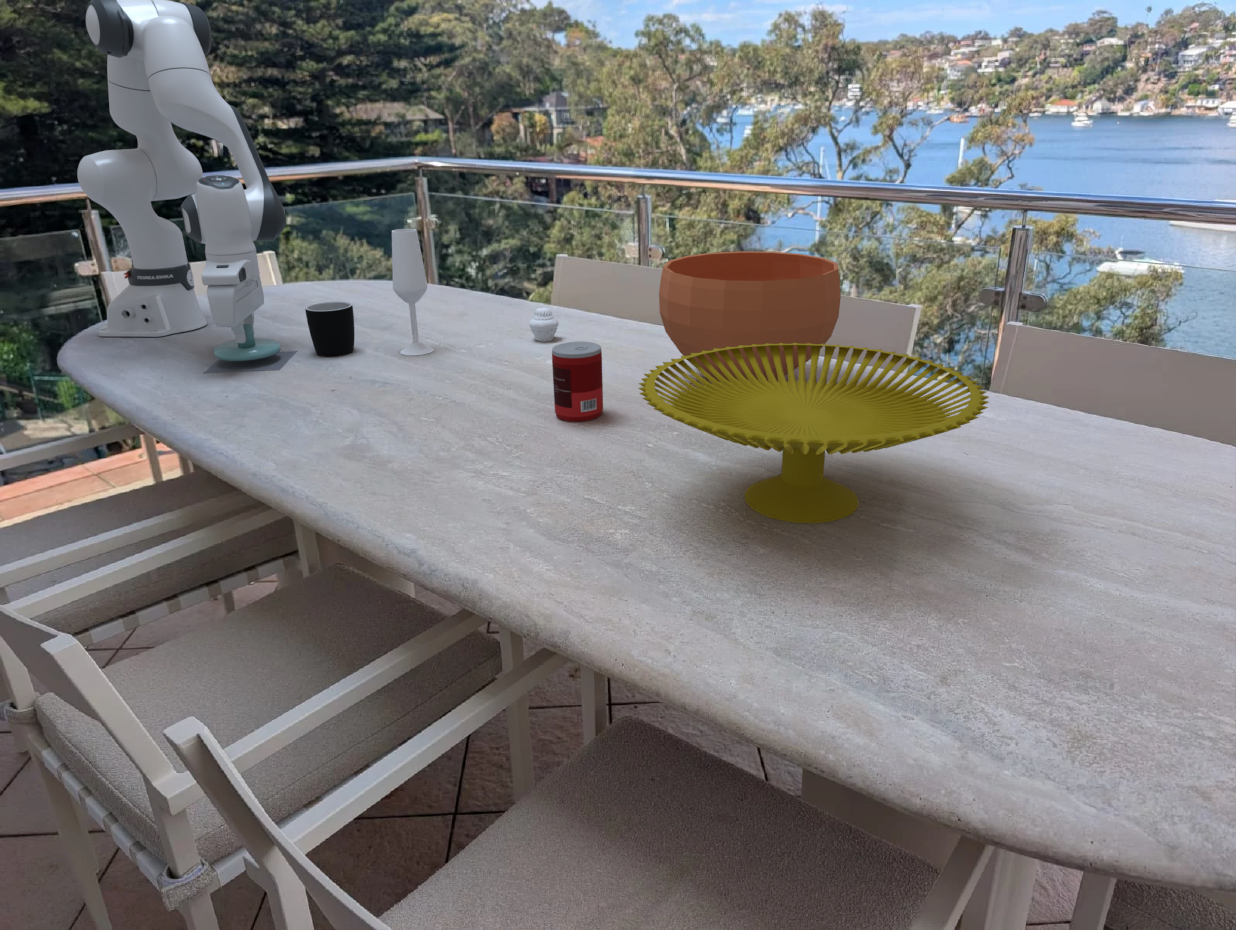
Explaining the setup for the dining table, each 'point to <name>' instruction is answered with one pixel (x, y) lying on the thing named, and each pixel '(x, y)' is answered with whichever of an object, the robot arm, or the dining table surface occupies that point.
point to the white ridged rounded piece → (543, 324)
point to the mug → (331, 328)
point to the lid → (247, 348)
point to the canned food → (577, 381)
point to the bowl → (749, 304)
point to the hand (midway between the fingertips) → (245, 339)
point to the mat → (252, 364)
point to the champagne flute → (409, 280)
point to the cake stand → (810, 417)
